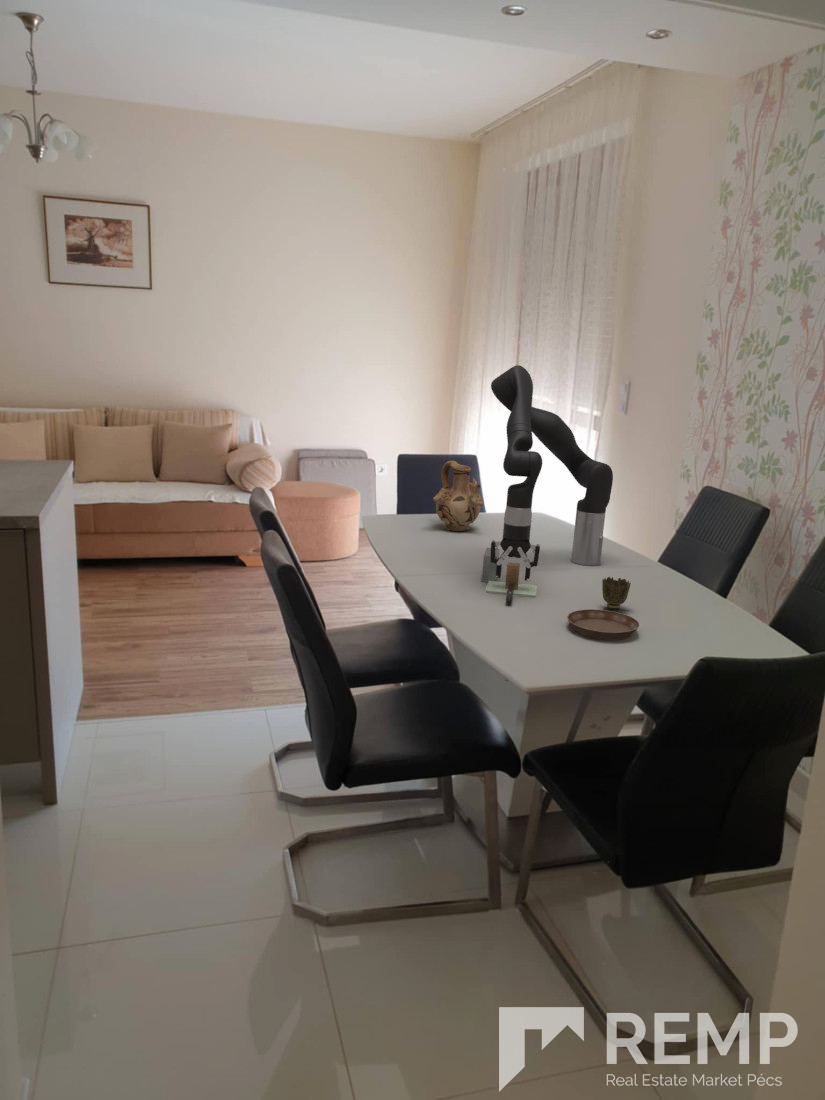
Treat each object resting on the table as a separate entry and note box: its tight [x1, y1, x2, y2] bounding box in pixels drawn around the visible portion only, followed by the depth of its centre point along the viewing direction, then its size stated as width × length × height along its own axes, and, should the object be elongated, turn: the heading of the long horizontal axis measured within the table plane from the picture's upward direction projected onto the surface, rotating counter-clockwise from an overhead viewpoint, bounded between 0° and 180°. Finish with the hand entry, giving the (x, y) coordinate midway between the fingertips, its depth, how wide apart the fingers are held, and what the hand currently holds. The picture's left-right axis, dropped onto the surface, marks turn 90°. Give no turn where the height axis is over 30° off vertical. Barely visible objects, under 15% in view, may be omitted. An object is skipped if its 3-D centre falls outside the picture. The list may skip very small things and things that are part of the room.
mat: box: [485, 580, 538, 598], centre depth 239 cm, size 14×10×1 cm
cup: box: [601, 576, 631, 611], centre depth 226 cm, size 8×7×8 cm
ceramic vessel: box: [432, 460, 485, 532], centre depth 308 cm, size 18×19×25 cm
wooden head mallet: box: [505, 561, 521, 605], centre depth 232 cm, size 17×4×7 cm, turn 171°
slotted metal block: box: [481, 547, 501, 584], centre depth 249 cm, size 4×10×8 cm, turn 170°
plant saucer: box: [566, 608, 640, 641], centre depth 209 cm, size 18×18×3 cm
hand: (512, 578), depth 238 cm, fingers open, 7 cm apart
